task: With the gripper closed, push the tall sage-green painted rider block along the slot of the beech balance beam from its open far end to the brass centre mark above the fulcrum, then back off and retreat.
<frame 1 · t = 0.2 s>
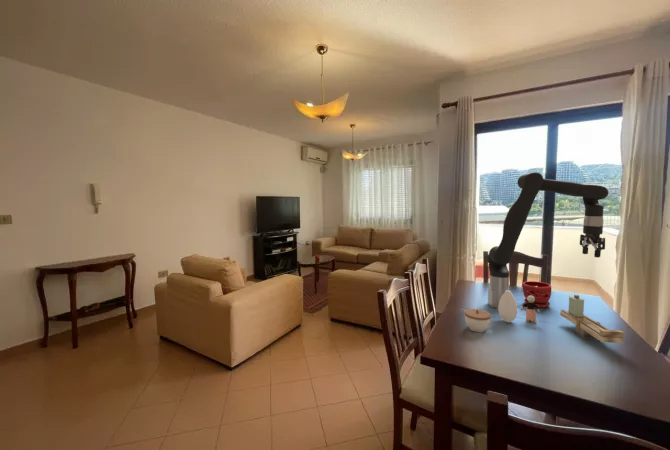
hand: (591, 255, 147), 29 cm above the table, fingers open, 8 cm apart
beam: (587, 336, 121), on the table
rider: (576, 305, 128), point 11 cm above the table, slide at 8.0 cm
white teardrop vase: (507, 321, 137), on the table
grandmother figurine: (529, 321, 137), on the table
plant pot: (535, 304, 158), on the table
lidded jar: (477, 329, 130), on the table
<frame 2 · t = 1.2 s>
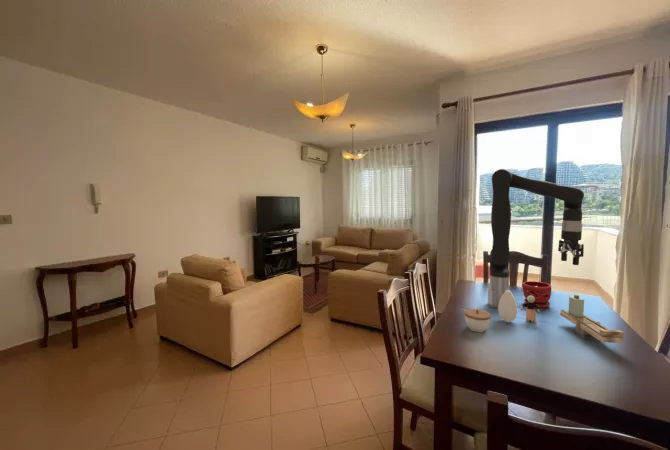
hand: (569, 262, 137), 28 cm above the table, fingers open, 8 cm apart
nothing on the table moved.
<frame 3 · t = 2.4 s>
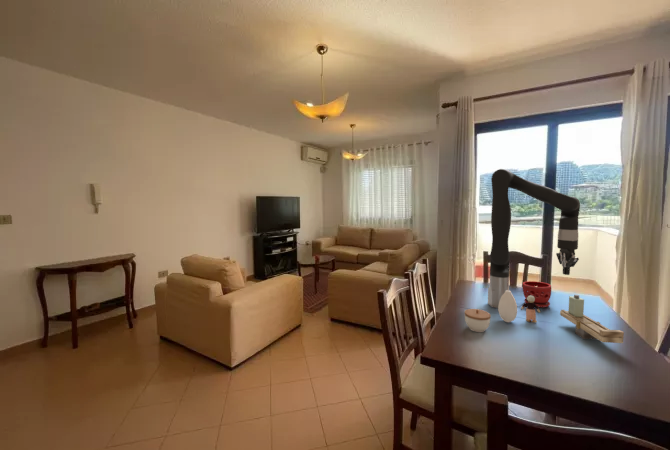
hand: (566, 274, 135), 23 cm above the table, fingers closed
nothing on the table moved.
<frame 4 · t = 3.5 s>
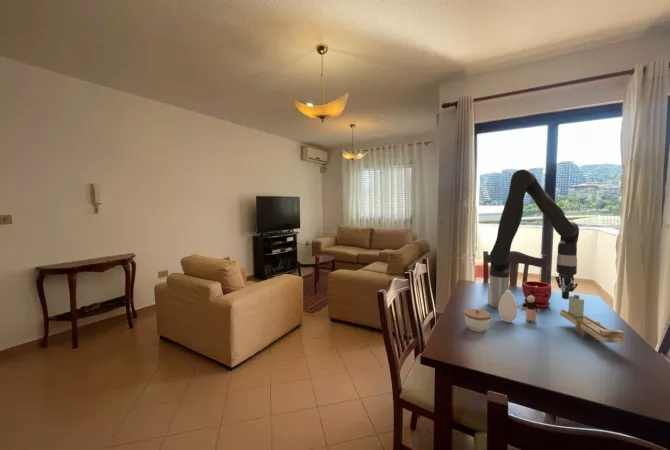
hand: (565, 298, 136), 11 cm above the table, fingers closed
nothing on the table moved.
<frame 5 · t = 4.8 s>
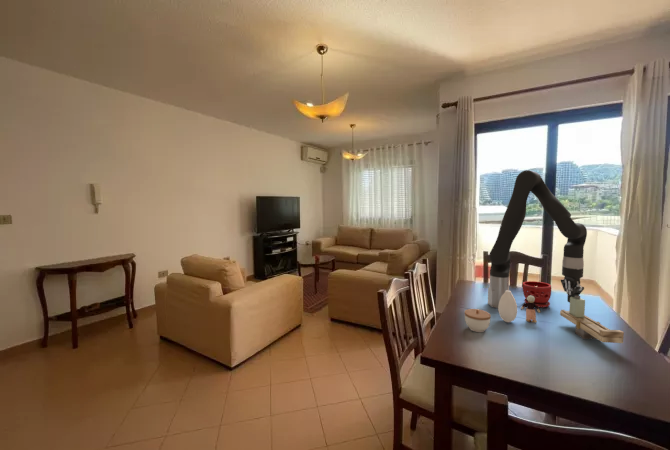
hand: (571, 302, 132), 11 cm above the table, fingers closed
rider: (577, 305, 127), point 11 cm above the table, slide at 7.3 cm, touching gripper
everything else where it was.
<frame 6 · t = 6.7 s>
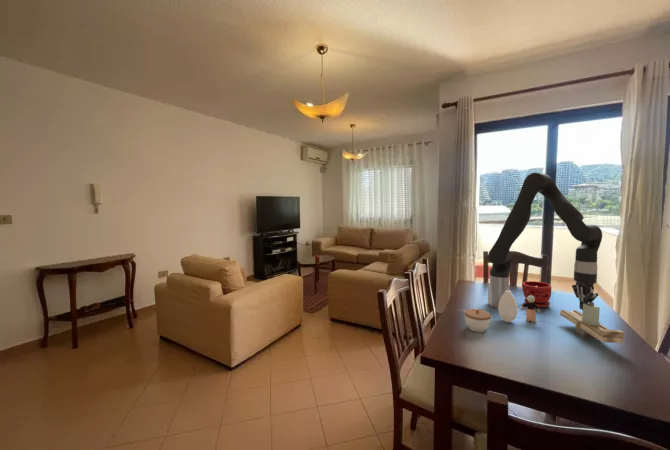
hand: (583, 309, 124), 11 cm above the table, fingers closed
rider: (590, 313, 119), point 11 cm above the table, slide at -1.0 cm, touching gripper
everything else where it was.
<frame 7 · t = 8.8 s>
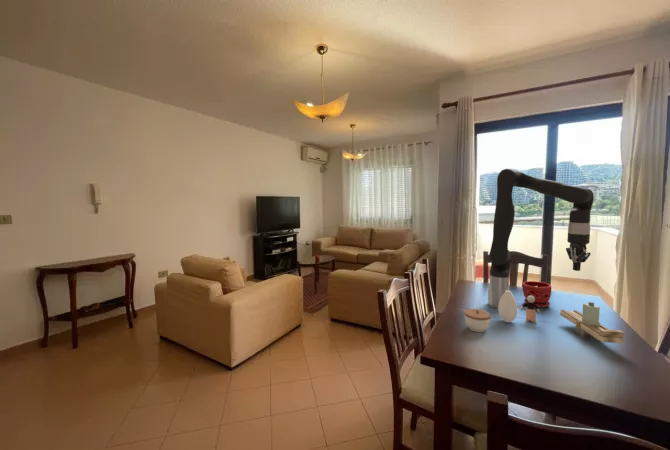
hand: (576, 270, 128), 27 cm above the table, fingers closed
rider: (590, 313, 119), point 11 cm above the table, slide at -1.0 cm
everything else where it was.
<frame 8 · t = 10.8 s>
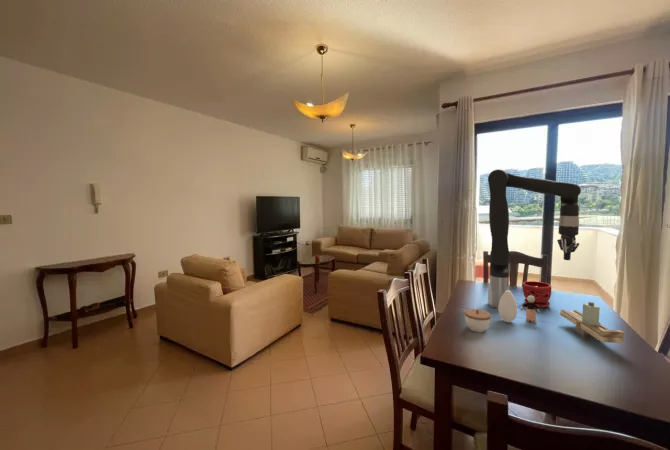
hand: (566, 259, 139), 29 cm above the table, fingers closed
nothing on the table moved.
at the end: rider slide at -1.0 cm; rider 1.0 cm off-centre on the beam, point 10.8 cm above the beam's base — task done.
